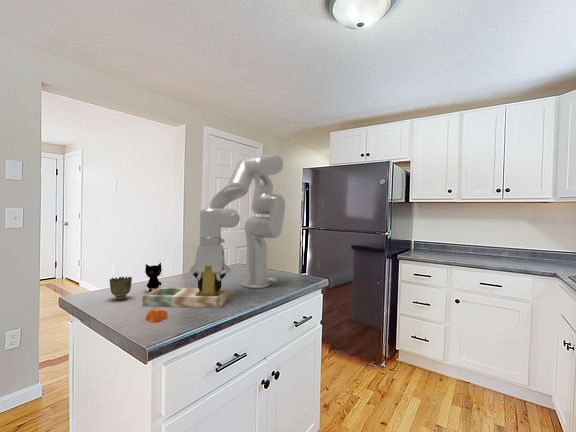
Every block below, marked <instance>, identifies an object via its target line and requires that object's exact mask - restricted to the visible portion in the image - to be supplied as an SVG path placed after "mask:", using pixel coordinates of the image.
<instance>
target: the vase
mask: <svg viewBox="0 0 576 432" xmlns="http://www.w3.org/2000/svg"><path fill="white" fill-rule="evenodd" d="M216 281H217V277H216V274H215V273H213V272H212V266H211V265H205V271H204V272H203V273H202V295H201V296H217V292H216Z"/></svg>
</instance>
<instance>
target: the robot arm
mask: <svg viewBox="0 0 576 432" xmlns="http://www.w3.org/2000/svg"><path fill="white" fill-rule="evenodd" d="M283 168H284V161H283V159H282V157H281V156H280V155H278V154H268V155H267V154H266V155H258V156H250V157H243V158H241V159H240V160H239V161H238V162H237V164H236V166H235V169H234V171H233V173H232V175H231V177H230V180H229V181H228V183H227V185H226V186H224V187H223V188H222V189H221V190H219V191H218V192H217V193H216V194H214V196H213V197H212V199H211V200H210V202H209V203H208V206H207V207H206V208H203V209H201V210H200V212H199V244H198V246H197V249H196V254H195V260H194V261H195V262H194V264H193V265H192V266H191V267H190V269H188V271H189V273H190V274H191V275H193V276H194V277H195V278H196V281H197V288H199V291H202V273H203V272H204V271H205V265H211V266H212V272H213V273H215V274H216V277H217V281H216V292H218V291H219V290H220V289H222V279H223V278H225V277H226V276H227V275H228V274H229V273H230V272H231V269H230V267H228V266H227V264H226V263H225V262H226V261H225V250H224V245H223V244H224V243H225V239H224V238H222V237H221V236H222V235H221V233H222V231H221V230H222V229H223V228H225V229H229V228H230V229H231V228H235V227H236V226H237V225H238V224H239V222H240V218H241V217H240V214H239V212H238V211H237V210H236V209H234V208H225V207H226V206H227V205H228V204H230V203H232V202H233V201H236V200H238V199H240V198H242V197H244V196H245V195H247V193H248V192H249V189H250V186H251V184H252V182H253V180H254V191H253V196H252V203H251V210H252V212H253V213H254V214H255V215H260V216H251V217H249V218H248V219H247V220H246V221H245V222H244V223H245V224H244V232H245V240H246V261H245V262H246V265H245V266H246V267H245V268H246V269H245V270H246V271H245V272H246V273H245V274H246V275H245V279H246V280H244V281H243V282H242V286H243V288H244V287H245V288H248V289H263V288H267V287H269V286H271V283H277V277H274V276H271V277H270V276H269V273H268V245H267V242H266V240H265V239H277V238H279V237H280V235H281V234H282V230H283V225H284V219H285V213H286V201H285V199H284V197H283V196H282V195H281V194H277V193H275V194H274V193H273V189H274V185H273V182H272V180H271V178H270V176H272V175H278V174H279V173H281V172H282V171H283ZM261 215H265V216H261ZM267 215H268V216H267ZM223 271H224V272H223ZM222 272H223V273H222Z"/></svg>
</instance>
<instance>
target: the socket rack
mask: <svg viewBox="0 0 576 432" xmlns="http://www.w3.org/2000/svg"><path fill="white" fill-rule="evenodd" d="M201 295H202V291H199V288H198V287H163V286H162V287H161V286H159V287H158V288H156V289H155V290H154V289H152V291H151V292H149V293H148V292H147V293H146V294H144V295H142V307H166V308H167V307H169V308H170V307H172V308H174V307H175V308H205V309H206V308H207V309H211V308H212V309H213V308H215V309H222V308H223V307H224V305H225V304H226V303H227V302H228V300H229V299H230V288H229V289H228V288H221V289H220V290H219V291H218V292H217V296H201Z"/></svg>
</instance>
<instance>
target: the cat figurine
mask: <svg viewBox="0 0 576 432" xmlns="http://www.w3.org/2000/svg"><path fill="white" fill-rule="evenodd" d="M162 269H163V268H162V262H159V264H157V265H155V264H154V265H149V264H145V271H144V272H145V275H146V278H149V280H148V282H147V284H146V287H147V288H148V292H147V293H149V292H151V291H153V290H155V289H156V288H158V287H161V286H162V284H163V283H162V282H161V281H160V280H159V278H158V277H159V276H161V277H162V276H164V274H163V273H164V272H162Z"/></svg>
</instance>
